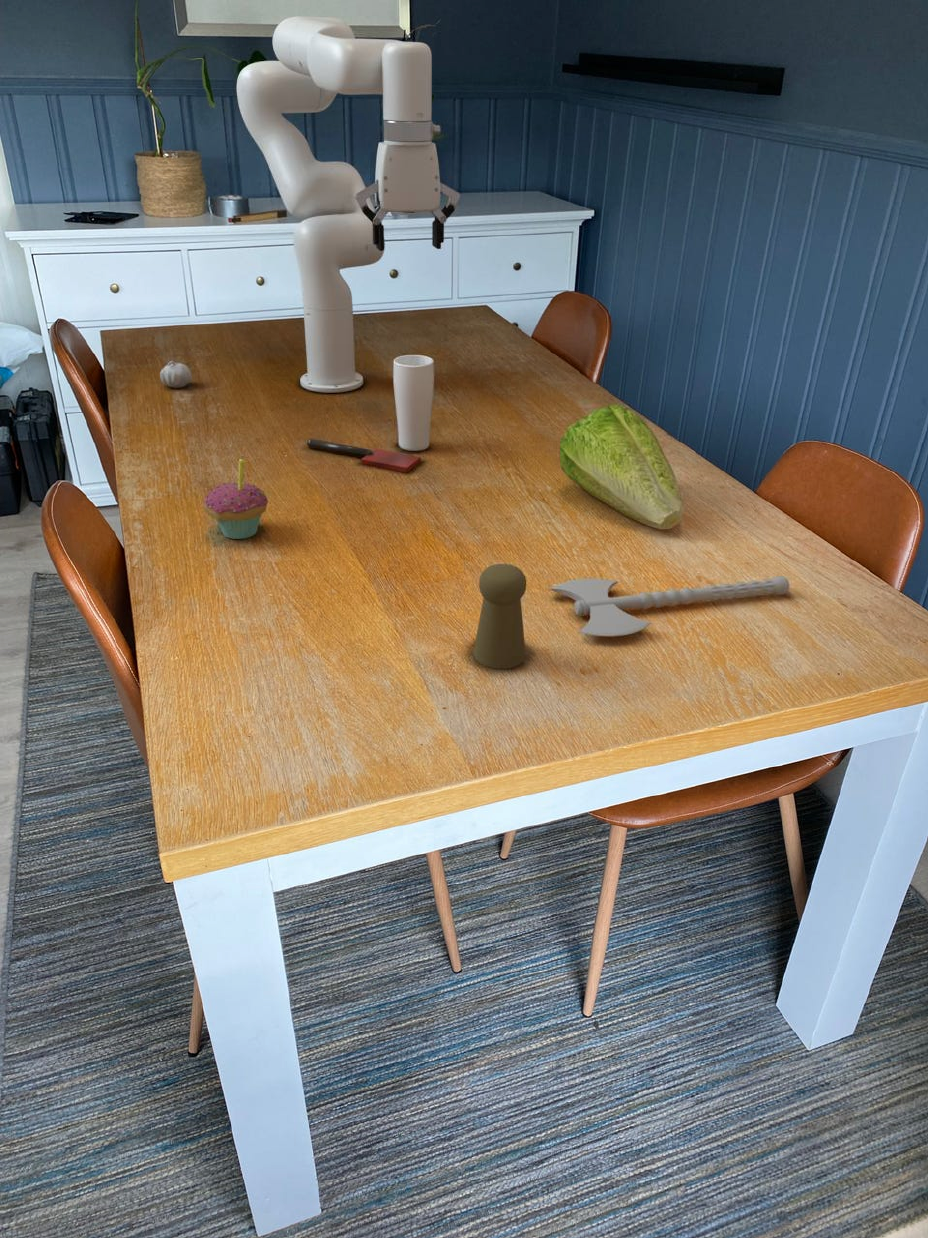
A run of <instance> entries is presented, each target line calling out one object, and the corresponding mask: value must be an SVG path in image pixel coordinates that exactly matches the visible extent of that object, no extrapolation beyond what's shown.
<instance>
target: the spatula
mask: <svg viewBox="0 0 928 1238" xmlns="http://www.w3.org/2000/svg"><path fill="white" fill-rule="evenodd" d="M306 445H307V447H308V448H310V449H313V450H317V451H318V450H319V451H324V452H329V453H334V454H340V455H345V456H350V457H354V458H355V457H356V458H359V459H360V458H361V460H360V462H361V465H365V466H369V467H376V468H379V469H380V468H381V469H385V470H391V471H395V472H399V473H400V472H401V473H406V474H407V473H409V472H410V471H412V470H413V469H414V468H415V467H416V466H418V465H419V464H420V463H421V462H422V457H421V456H416V455H411V454H408V453H407V454H406V453H401V452H395V451H392V450H391V451H390V450H385V449H380V448H376V449H374V450H372V449H369V448H363V447H358V446H353V445H348V444H342V443H338V442H333V441H326V440H321V439H317V438H309V439H308V440H307V442H306Z"/></svg>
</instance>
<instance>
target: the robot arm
mask: <svg viewBox="0 0 928 1238" xmlns="http://www.w3.org/2000/svg"><path fill="white" fill-rule="evenodd" d="M272 48H273V52H274V54H275V57H276V58H277V60H264V61H255V62H253V63H250V64H247V65H246V66H245V67H243V68H242V69H241V71H240V72H239V74H238V76H237V79H236V97H237V104H238V108H239V112H240V114H241V118H242V120H243V122H244V125H245V127H246V129H247V130H248V133H249V134H250V136H251V137H252V139H253V140H254V142H255V143H256V145H257V147H258V148H259V149H260V151H261V153H262V154H263V156H264V159H265V160H266V161H265V162H266V163H267V165H268V169H269V171H270V173H271V176H272V178H273V180H274V183H275V186H276V188H277V191H278V192H279V196H280V197H281V200H282V202H283V205H284V206H285V208H286V210H287V211H288V213H289V214H291V216H293V217H295V218H299V219H303V220H302V221H300V222H299V223H298V225H297V226H296V227H295V229H294V232H293V237H292V239H293V250H294V253H295V257H296V262H297V265H298V271H299V277H300V283H301V296H302V306H303V307H302V308H303V322H304V336H305V337H304V338H305V339H304V340H305V353H306V354H305V355H306V369H307V373H305V374H303V375H302V376H300V380H299V383H300V384H299V385H300V386H301V388H303V389H306V390H307V391H312V392H316V393H324V394H335V393H337V394H338V393H346V392H350V391H353V390H354V391H355V390H356V389H359V388H360V387H361V386H362V385H364V377H363V375H361V374H360V373H359V372H356V361H355V360H356V359H355V358H356V357H355V334H354V331H355V330H354V309H353V307H354V306H353V305H354V304H353V294H352V290H351V288H350V286H349V284H348V283H347V281H346V279H345V278H344V277H343V275H342V273H341V270H343V269H350V268H358V267H365V266H369V265H374V264H376V263H378V262H379V261H380V260H381V259H382V257H383V256H384V253H385V248H386V239H385V226H384V224H382V221H383V220H384V219H385V217H386V216H387V215H388V213H420V212H422V213H424V212H430V213H431V215H432V216H433V217H434V220H432V223H431V228H432V230H431V232H432V233H431V245H432V247H434V248H435V249H436V250H441V249H442V244H444V243H445V223H447V221H448V219H449V218H450V216H452V214H454V212H455V210H456V207H457V205H458V204H459V201H460V198H461V193H460V192H458V191H456V190H455V189H452V188H451V187H449V186H448V185H446V184H444V183H442V182H441V179H440V177H441V176H440V167H439V166H440V165H439V158H438V152H437V151H438V150H437V146H436V143H435V142H432V141H433V140H434V136H438V135H441V125H440V124H439V125H438V124H437V125H436V124H435V123H434V122H433V121H432V112H433V111H432V103H433V102H432V101H433V100H432V98H433V97H432V96H433V95H432V94H433V92H432V87H433V85H432V84H433V82H432V81H433V80H432V79H433V78H432V75H433V72H432V70H433V69H432V67H433V65H432V64H433V63H432V62H433V61H432V60H433V59H432V58H433V57H432V50H431V48H430V46H429V45H428V44H426V43H424V42H419V41H401V40H398V39H382V38H381V39H380V38H379V39H378V38H356V37H355V33H354V31H353V29H352V28H351V26H350V25H349V24H348V23H347V22H345V20H343V19H341V18H338V17H332V16H331V17H329V16H327V17H326V16H304V15H303V16H302V15H299V16H298V15H297V16H290V17H287V18H285V19H283V20H282V21H281V22H280V23H279V24H277V26H276V28H275V30H274V32H273V35H272ZM337 94H340V95H348V96H349V95H351V96H352V95H353V96H354V95H355V96H356V95H357V96H358V95H382V113H383V114H382V116H383V117H382V119H383V120H382V121H383V141H381V142H378V146H377V152H376V161H375V176H374V178H375V180H374V183H371V184H370V185H369V186H366V185H365V183H364V180H363V178H362V176H361V175H360V173H359V172H358V170H357V169H356V168H355V167H354V166H353V165H351V164H350V163H348V162H345V161H320V160H317V159H316V158H315V156H314V154H313V153H312V150H311V148H310V146H309V143H308V140H307V139H306V138H305V136H304V135H303V133H302V132H301V131H300V130H299V129H298V128H297V127H296V126H295V125H294V124H293V123H292V122H291V121H289V120H288V119H286V118H285V117H284V116H283V114H307V113H308V114H309V113H319V112H322V111H325V110H327V108H329V106H331V105H332V103H333V102H334V99H335V98H336V96H337ZM441 194H444V195H445V196H447V197H448V200H447V203H446V204H445V205H444V206H443V208H442V209H440V206H441ZM373 196H374V201H375V204H376V208H375V207H374V204H373V202H372V200H371V197H373Z"/></svg>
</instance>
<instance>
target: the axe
mask: <svg viewBox="0 0 928 1238" xmlns="http://www.w3.org/2000/svg"><path fill="white" fill-rule="evenodd" d="M617 584H619V581H616V580H611V579H606V578H595V577H594V578H591V577H590V578H589V577H588V578H577V579H572V580H571V579H570V580H567V581H563V582H560V583H558V584H556V585H554V586H553V587H551V588H549V590H550V591H552V592H555V593H558V594H561V595H563V596H566V597H568V598H570V599H572V600H574V601H575V602H574V605H573V610H574V613H575V615H576V616H578V617H581V616H582V617H584V616H586V615H588V616H589V620H588V622H587V623H586V624H585V625H584V626H583V627H582V628H581V629H580V630H579V631H578V633H579V634H584V635H589V636H595V637H621V636H629V635H632V634H635V633H639V632H641V631H643V630H645V629H647V628H648V627H649V626H650V625H652V623H651V622H649V621H647V620H644V619H641V618H638V617H636V616H633V615H631V614H629V613H627V612H625V611H627V610H628V611H629V610H636V609H637V610H638V609H641V610H648V609H649V608H656V609H657V608H663V607H664V606H669V607H675V606H677V605H681V604H682V605H690V604H692V603H697V602H705V601H711V602H715V601H718V600H722V599H723V600H730V599H732V598H737V599H741V598H745V597H757V596H759V595H764V596H768V595H775V596H780V595H781V596H782V595H783V596H784V595H786V594H788V592H789V589H790V582H789V579H788V578H787V577H786V576H784V575H778V576H773V577H771V578H770V579H769V578H766V579H763V580H750V581H749V582H743V581H739V582H736V583H723V584H722V585H716V584H712V585H709V586H705V587H696V588H690V587H683V588H681V589H674V588H673V589H667V590H666V591H662V590H655V591H653V592H649V593H648V592H639V594H633V595H624V596H615V597H609V593H610V591H611V590H612V589H613V587H615V586H616V585H617Z"/></svg>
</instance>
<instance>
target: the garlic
mask: <svg viewBox="0 0 928 1238" xmlns="http://www.w3.org/2000/svg"><path fill="white" fill-rule="evenodd" d="M159 377H160V380H161V382H162V384H164V385H165V386H166V387H167V386H168V387H169V388H175V389H180V388H184V387H186V386H187V385H188V384H189V383H190V382H191V380H192V372H191V369H190V368H189V366H187V365H186V364H184V363H180V362H175V361H174V360H170V361H169V362H168V363H167V365H165V366H164V367H163V368H162V369H161V370H160V371H159Z"/></svg>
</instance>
